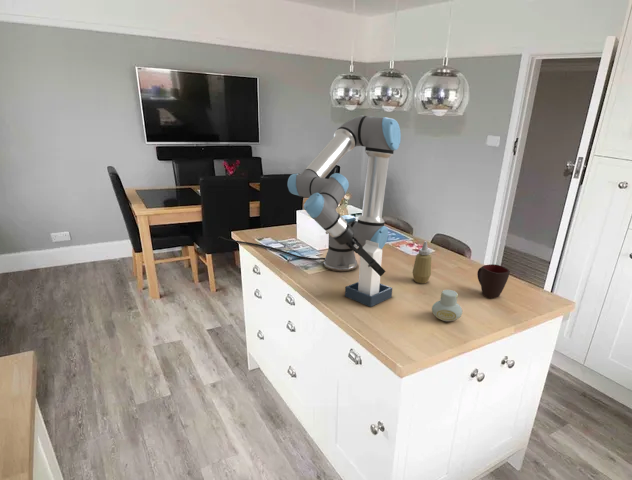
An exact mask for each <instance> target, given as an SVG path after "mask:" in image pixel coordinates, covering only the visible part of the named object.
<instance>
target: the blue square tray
mask: <svg viewBox="0 0 632 480" xmlns="http://www.w3.org/2000/svg"><path fill="white" fill-rule="evenodd" d="M358 284H359V281H357V282H354V283H352V284H348V285H347V286H345V287H344V290H345V291H344V297H345V298H348V299H350V300H353V301H355V302H357V303H360V304H362V305H364V306H367V307H369V308H372V307H375V306H376V305H379V304H380V303H383V302H385V301H387V300H389V299H391V298H393V287H391V286H389V285H386V284H383V283H381V282H380V286H379V293H377V294H375V295H372V296H370V295H367V294H365V293H362V292H360V291H358Z"/></svg>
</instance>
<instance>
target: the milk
mask: <svg viewBox="0 0 632 480" xmlns="http://www.w3.org/2000/svg"><path fill="white" fill-rule="evenodd" d="M378 246H379V244H378V243H375V242H372V241H369V240H366V244H365V245H364V246H363V249H364V250H365V251H366V252H367V253H368V254H369V255H370V256H371V257H372V258H373V259H374V260H376V262H377V263H378V264H379V265H380V266H381V267H382V261H383V248H382V249H380V248H379V247H378ZM368 265H369V264H368V263H367V262H366V261H365V260H364V259H363V258H362V257H361V256H359V267H358V282H359V284H358V291H360V292H362V293H365V294H367V295H370V296H372V295H375V294H377V293H379V286H380V283H381V276H380V275H379V274H378V273H377V272H376V271H375V270H374V269H373V268H372V267H371V266H370V267H368Z"/></svg>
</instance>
